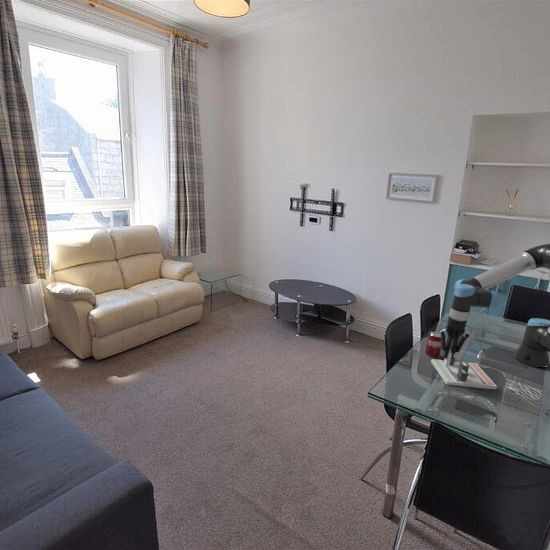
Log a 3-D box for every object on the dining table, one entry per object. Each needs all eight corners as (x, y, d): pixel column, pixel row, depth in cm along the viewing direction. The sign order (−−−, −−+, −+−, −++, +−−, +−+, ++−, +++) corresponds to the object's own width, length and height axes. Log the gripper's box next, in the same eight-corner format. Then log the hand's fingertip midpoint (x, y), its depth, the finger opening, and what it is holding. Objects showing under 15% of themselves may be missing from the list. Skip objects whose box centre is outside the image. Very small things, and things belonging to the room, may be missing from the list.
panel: (475, 366, 184) (476, 362, 183) (496, 389, 165) (497, 385, 164) (430, 361, 185) (431, 358, 184) (446, 384, 165) (447, 380, 165)
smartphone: (496, 422, 142) (454, 406, 149) (495, 424, 142) (453, 408, 149) (496, 412, 148) (456, 397, 155) (496, 414, 148) (455, 399, 155)
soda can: (440, 360, 187) (446, 338, 184) (425, 357, 188) (430, 336, 185) (437, 353, 194) (442, 332, 190) (423, 351, 195) (427, 330, 192)
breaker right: (463, 377, 169) (465, 369, 168) (466, 381, 166) (468, 373, 165) (456, 377, 169) (458, 369, 168) (459, 380, 166) (461, 372, 165)
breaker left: (451, 362, 182) (452, 354, 181) (453, 365, 179) (455, 357, 178) (444, 361, 182) (446, 353, 181) (447, 364, 180) (449, 357, 178)
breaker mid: (464, 370, 176) (466, 362, 174) (467, 373, 173) (469, 365, 171) (458, 369, 176) (460, 362, 174) (460, 373, 173) (462, 365, 172)
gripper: (468, 316, 170) (456, 361, 177) (440, 313, 170) (429, 358, 177) (476, 322, 163) (463, 370, 170) (446, 319, 163) (435, 367, 170)
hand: (446, 364), depth 173 cm, fingers closed
